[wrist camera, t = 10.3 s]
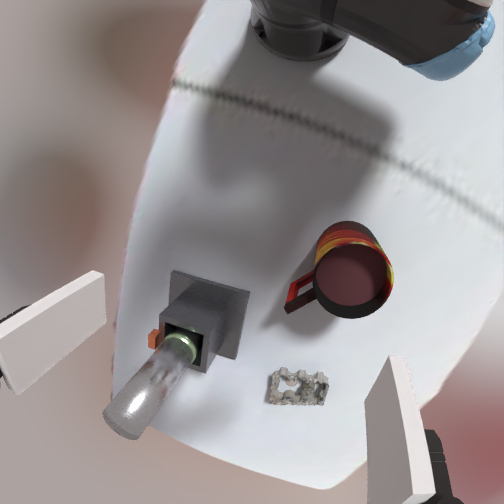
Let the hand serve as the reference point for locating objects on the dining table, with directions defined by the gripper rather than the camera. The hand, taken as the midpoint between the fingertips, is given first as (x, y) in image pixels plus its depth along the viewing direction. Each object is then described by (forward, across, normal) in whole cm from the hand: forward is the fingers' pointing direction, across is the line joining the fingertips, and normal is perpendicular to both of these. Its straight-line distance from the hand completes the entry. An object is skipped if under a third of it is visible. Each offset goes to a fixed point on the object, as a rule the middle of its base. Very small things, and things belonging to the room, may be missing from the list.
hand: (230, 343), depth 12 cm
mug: (+35, +8, -6) cm, 36 cm away
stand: (+35, -12, -22) cm, 43 cm away
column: (+27, -12, -22) cm, 37 cm away
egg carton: (+35, +8, -31) cm, 48 cm away
